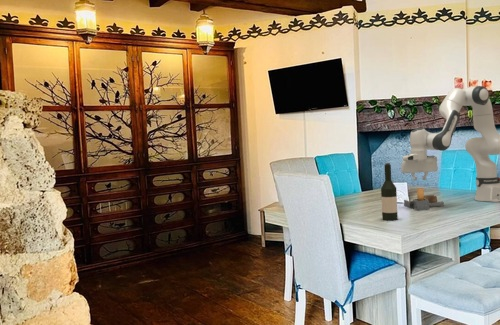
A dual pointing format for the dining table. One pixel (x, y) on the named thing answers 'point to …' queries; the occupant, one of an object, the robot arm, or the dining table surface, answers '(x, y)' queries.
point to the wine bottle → (389, 197)
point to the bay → (432, 204)
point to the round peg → (420, 194)
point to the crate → (431, 198)
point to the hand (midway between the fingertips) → (419, 180)
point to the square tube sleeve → (421, 204)
